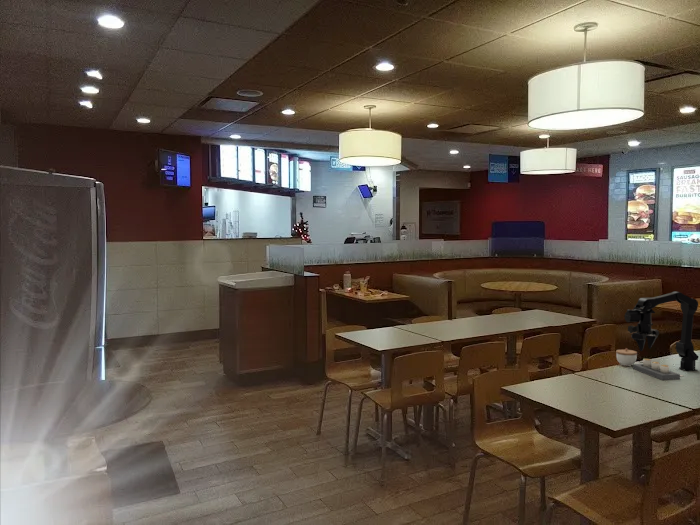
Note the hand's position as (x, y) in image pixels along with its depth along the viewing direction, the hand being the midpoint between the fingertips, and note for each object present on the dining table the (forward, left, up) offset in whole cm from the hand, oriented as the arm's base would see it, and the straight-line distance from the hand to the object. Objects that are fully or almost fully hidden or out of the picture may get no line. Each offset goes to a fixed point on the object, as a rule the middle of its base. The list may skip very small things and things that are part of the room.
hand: (645, 349), depth 303 cm
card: (-10, +6, -12) cm, 16 cm away
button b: (-2, +6, -10) cm, 12 cm away
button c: (-2, +13, -10) cm, 16 cm away
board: (-2, +6, -12) cm, 13 cm away
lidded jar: (+1, -15, -12) cm, 19 cm away
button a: (-2, -1, -10) cm, 10 cm away
